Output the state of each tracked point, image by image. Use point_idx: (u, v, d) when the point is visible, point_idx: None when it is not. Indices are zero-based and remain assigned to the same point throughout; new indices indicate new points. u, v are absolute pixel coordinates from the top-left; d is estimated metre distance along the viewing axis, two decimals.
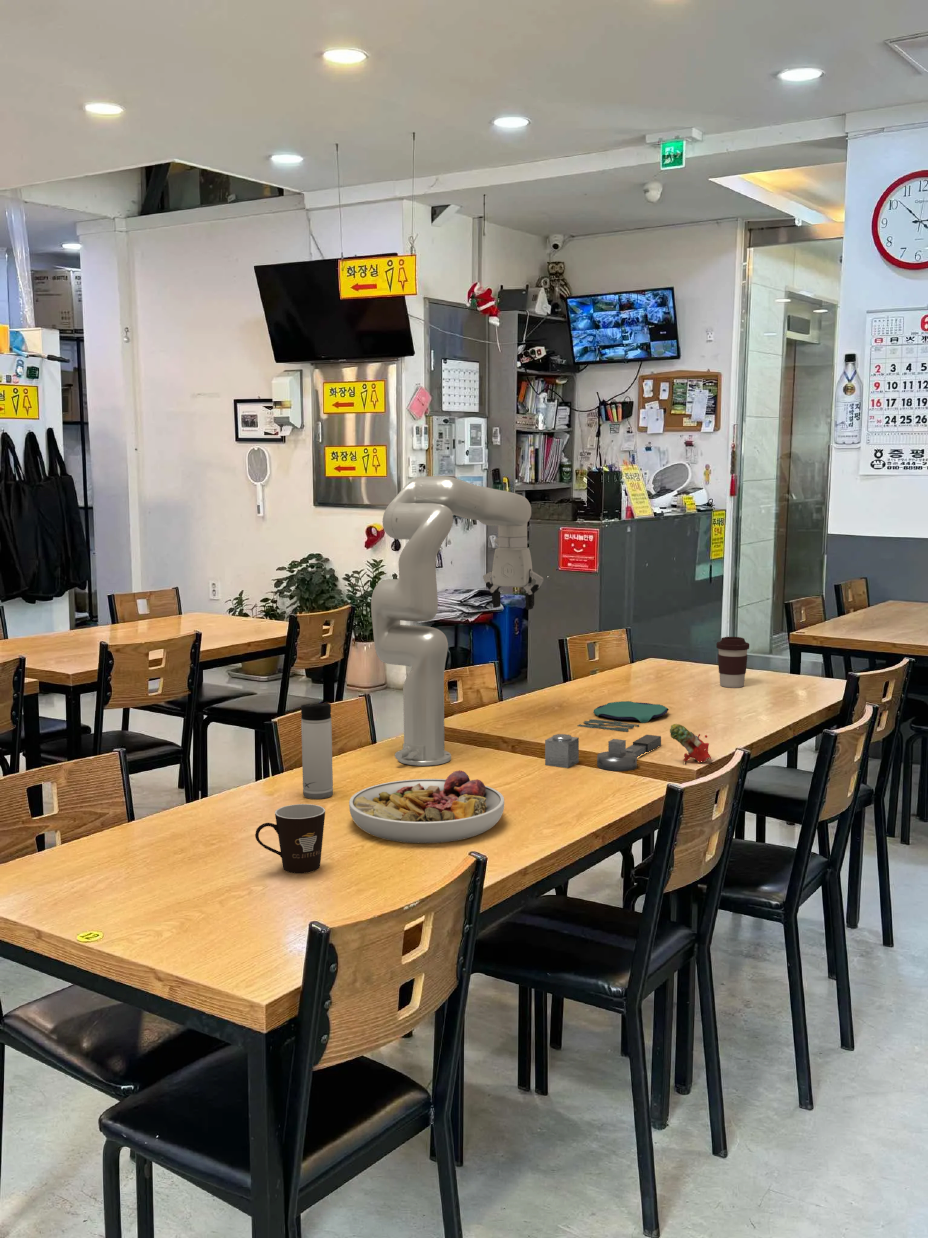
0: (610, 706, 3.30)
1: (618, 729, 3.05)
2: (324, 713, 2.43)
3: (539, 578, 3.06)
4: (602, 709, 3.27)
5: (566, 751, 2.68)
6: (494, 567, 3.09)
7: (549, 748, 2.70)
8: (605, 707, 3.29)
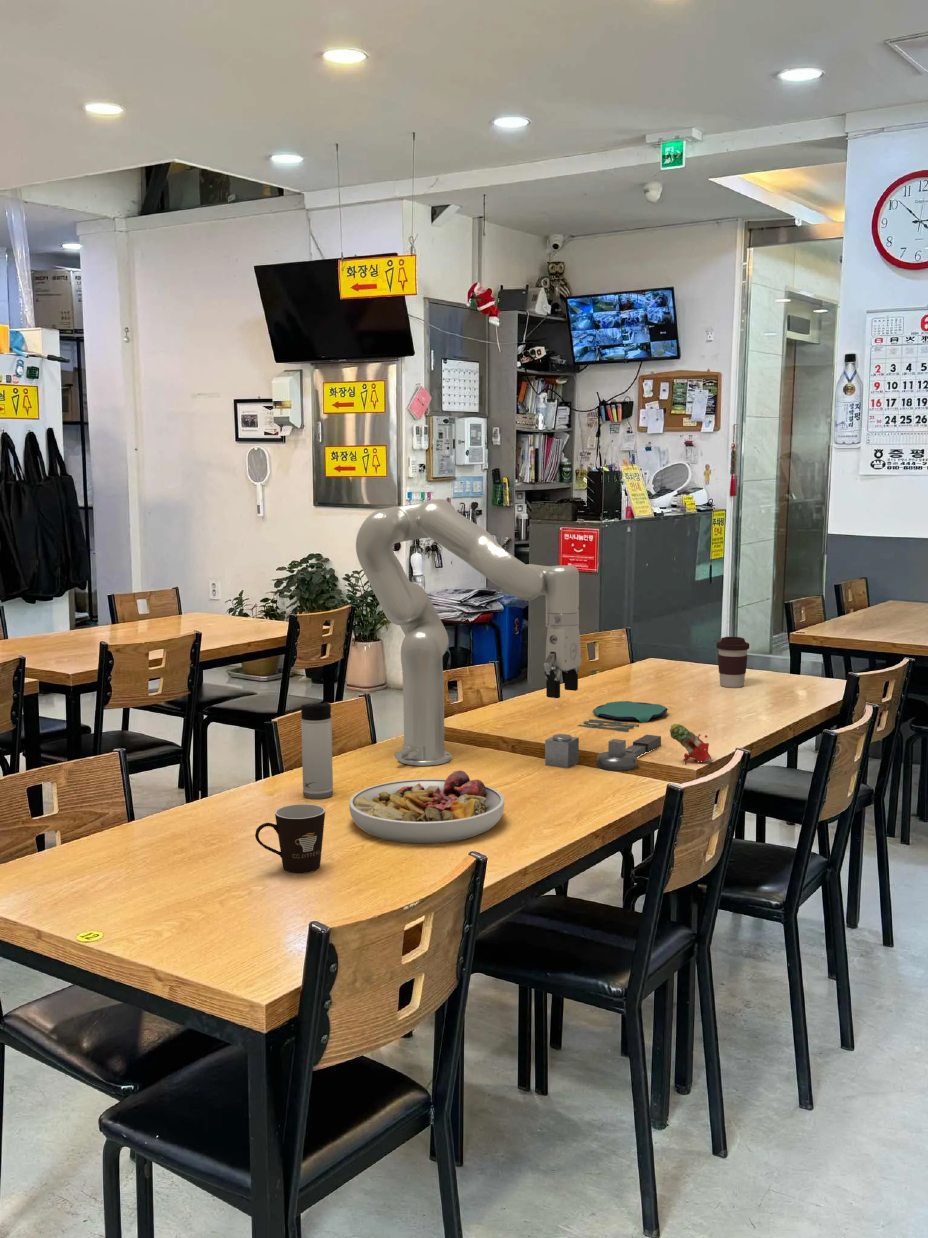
0: (609, 706, 3.30)
1: (618, 729, 3.05)
2: (324, 713, 2.43)
3: None
4: (601, 709, 3.27)
5: (566, 751, 2.68)
6: (565, 650, 2.64)
7: (549, 748, 2.70)
8: (604, 707, 3.29)
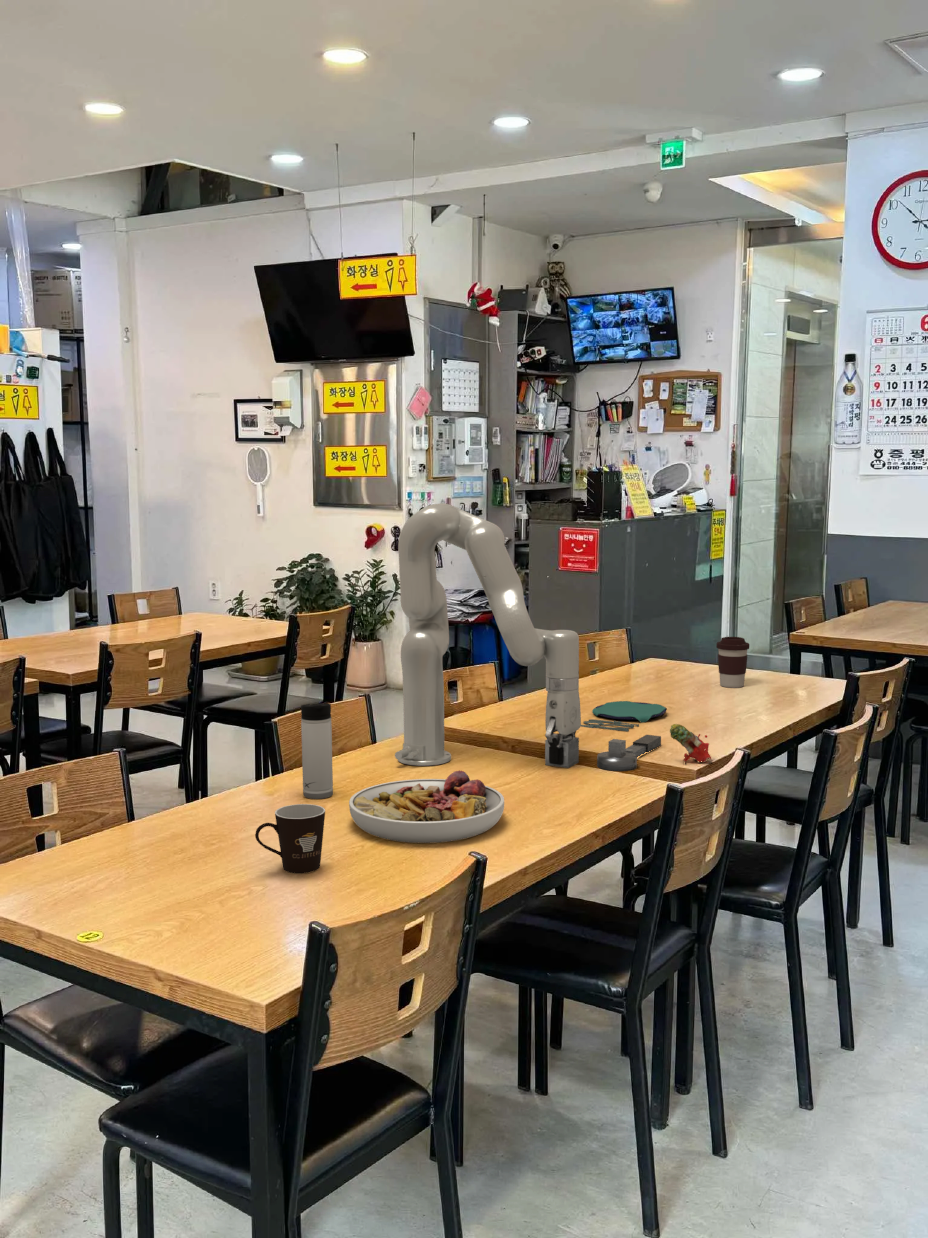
0: (608, 706, 3.31)
1: (618, 729, 3.05)
2: (324, 713, 2.43)
3: None
4: (600, 709, 3.27)
5: (566, 751, 2.68)
6: (564, 715, 2.66)
7: None
8: (603, 707, 3.29)
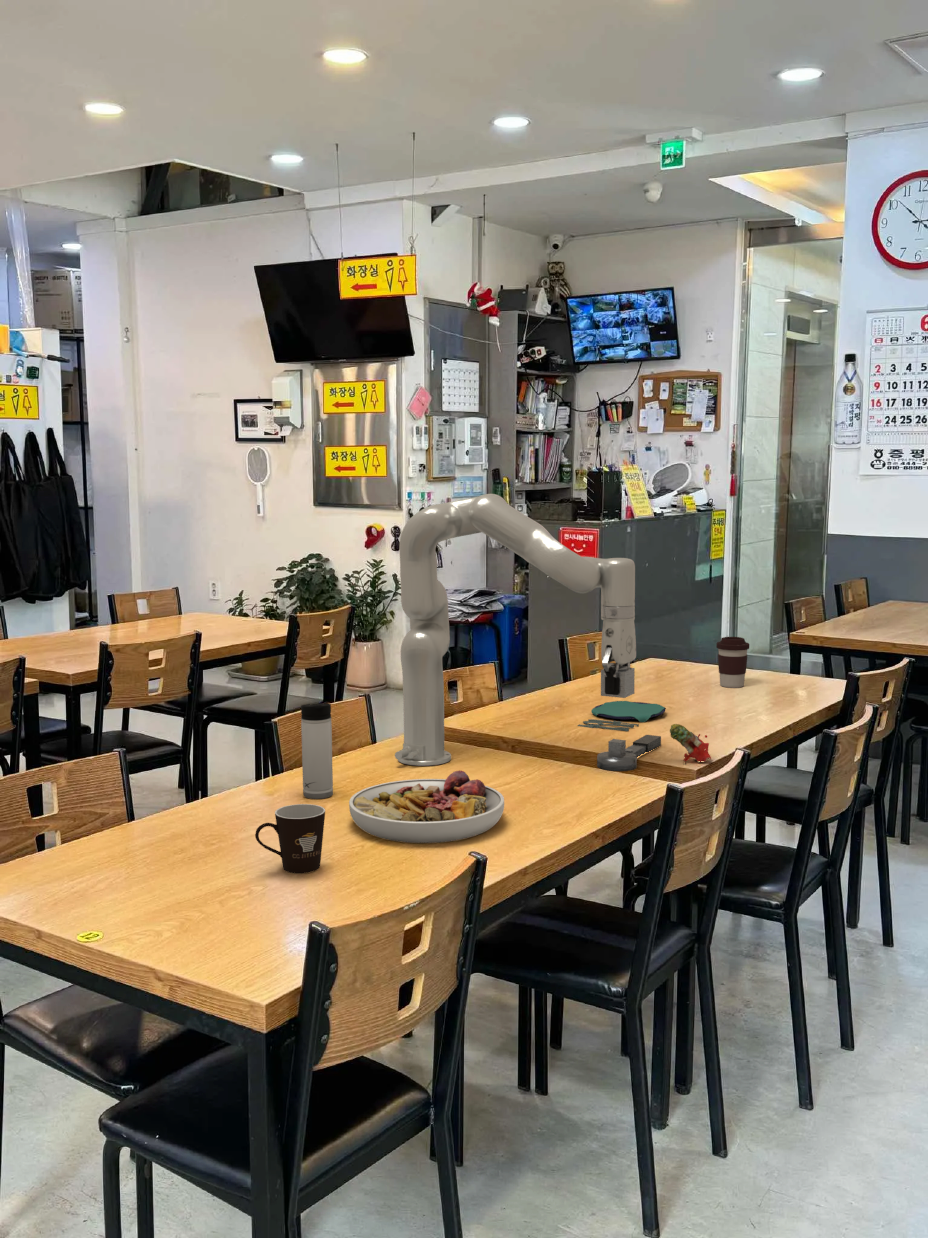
0: (607, 706, 3.31)
1: (618, 729, 3.05)
2: (324, 713, 2.43)
3: None
4: (599, 709, 3.27)
5: (623, 681, 2.63)
6: (621, 643, 2.61)
7: None
8: (602, 707, 3.29)
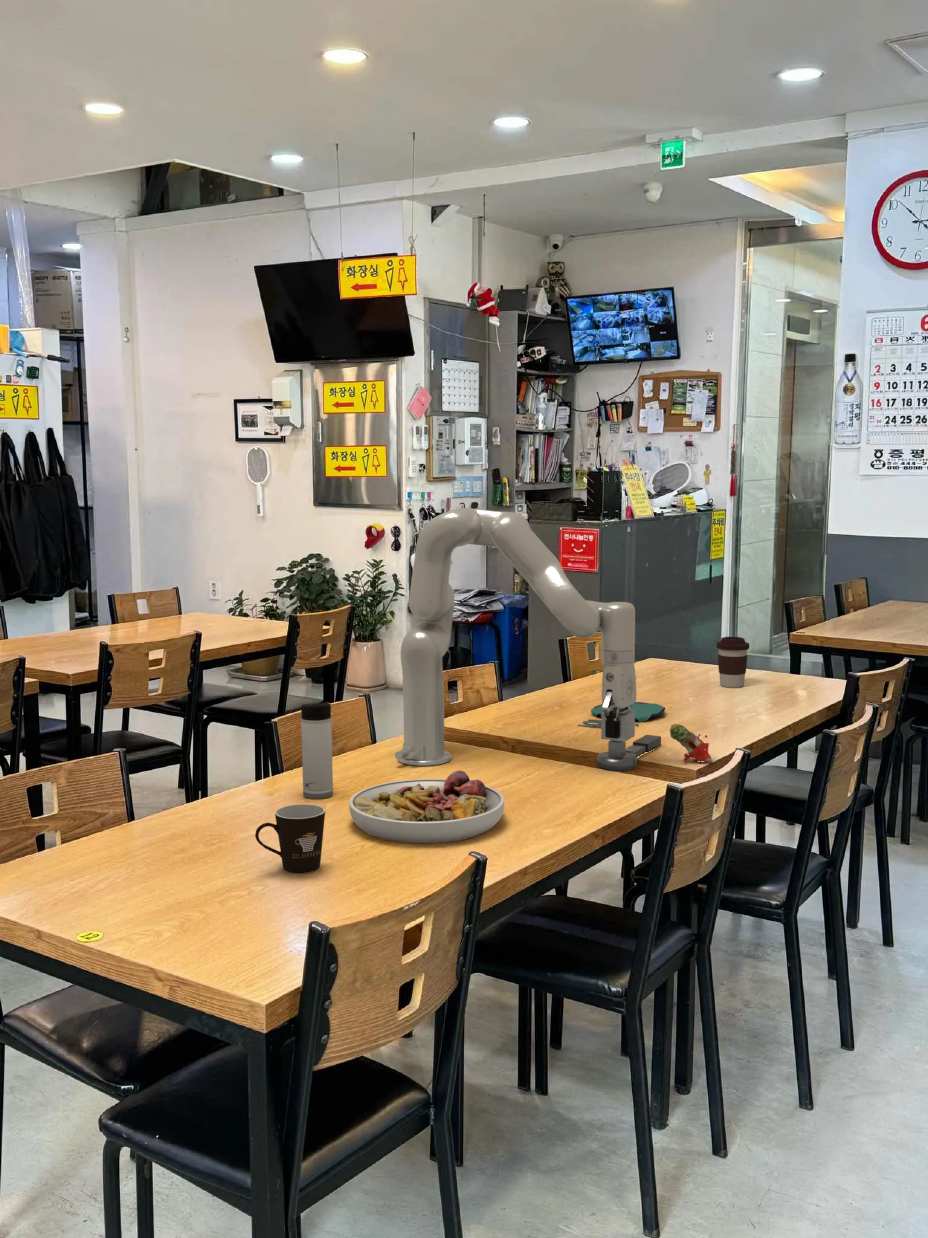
0: None
1: None
2: (324, 713, 2.43)
3: None
4: (599, 709, 3.27)
5: (623, 724, 2.65)
6: (621, 688, 2.62)
7: None
8: None
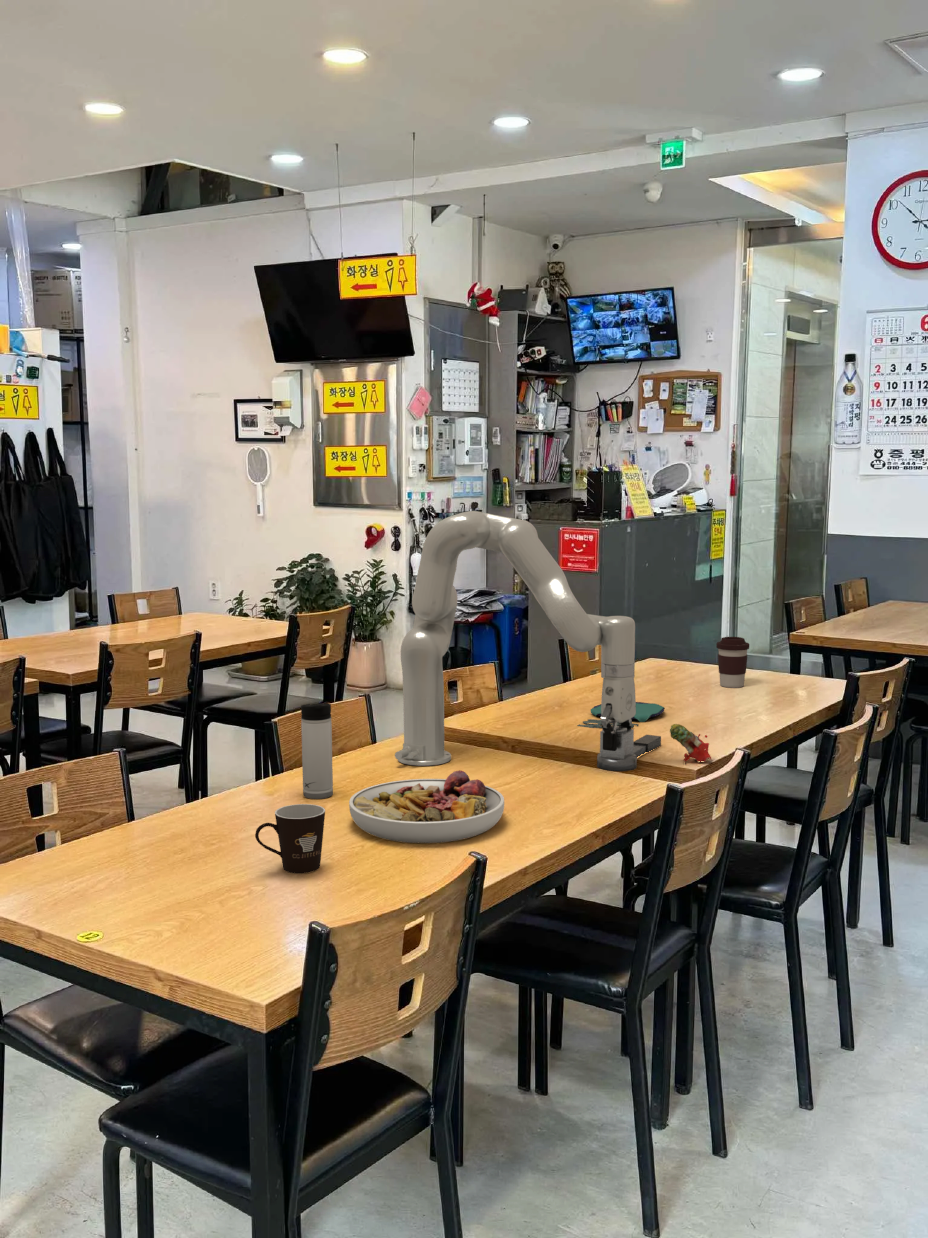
0: None
1: None
2: (324, 713, 2.43)
3: None
4: (598, 709, 3.27)
5: (622, 743, 2.65)
6: (621, 702, 2.63)
7: None
8: None
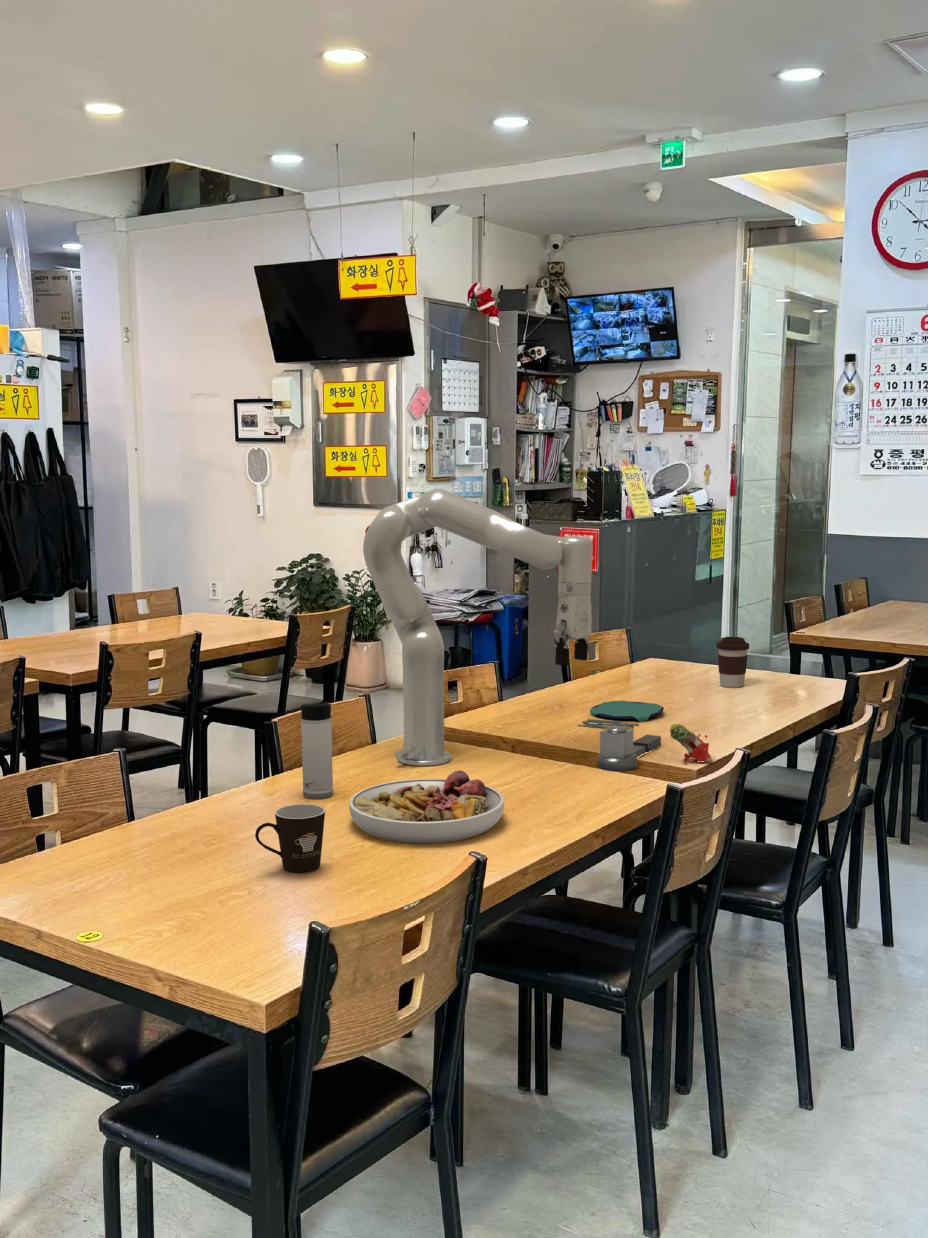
0: (605, 706, 3.31)
1: None
2: (324, 713, 2.43)
3: None
4: (598, 709, 3.27)
5: (622, 743, 2.65)
6: (575, 619, 2.69)
7: (604, 740, 2.67)
8: (600, 707, 3.30)
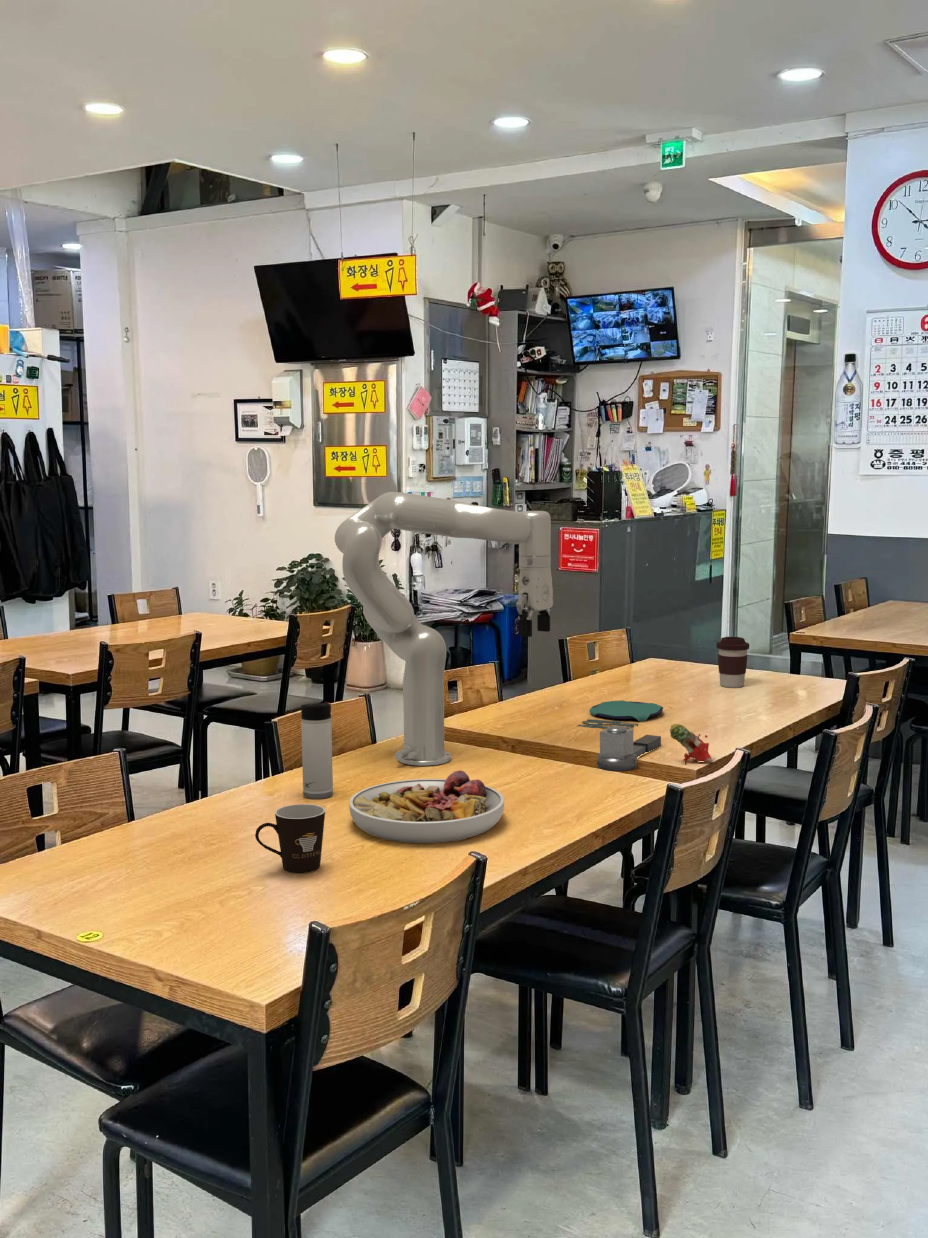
0: (604, 705, 3.31)
1: None
2: (324, 713, 2.43)
3: None
4: (597, 709, 3.27)
5: (622, 743, 2.65)
6: (536, 591, 2.77)
7: (604, 740, 2.67)
8: (599, 707, 3.30)
